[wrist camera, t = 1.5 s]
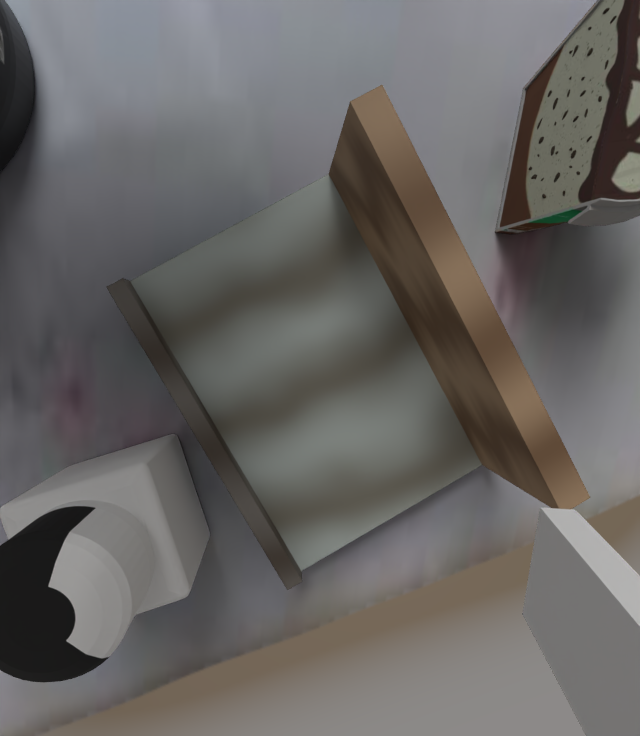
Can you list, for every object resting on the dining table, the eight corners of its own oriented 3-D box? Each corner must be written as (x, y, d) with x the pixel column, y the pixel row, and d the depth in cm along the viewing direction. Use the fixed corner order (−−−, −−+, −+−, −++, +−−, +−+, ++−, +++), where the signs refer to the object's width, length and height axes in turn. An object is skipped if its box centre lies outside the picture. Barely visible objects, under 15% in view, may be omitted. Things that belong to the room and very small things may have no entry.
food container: (576, 273, 30) (724, 240, 20) (490, 255, 29) (598, 212, 19) (615, 86, 29) (786, -42, 20) (527, 64, 29) (658, -81, 19)
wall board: (126, 293, 27) (39, 266, 18) (345, 174, 28) (382, 84, 18) (286, 563, 29) (290, 677, 19) (487, 445, 30) (590, 497, 20)
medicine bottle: (103, 571, 28) (-24, 738, 16) (65, 466, 28) (-95, 561, 16) (212, 535, 29) (165, 673, 17) (177, 431, 28) (103, 498, 16)
